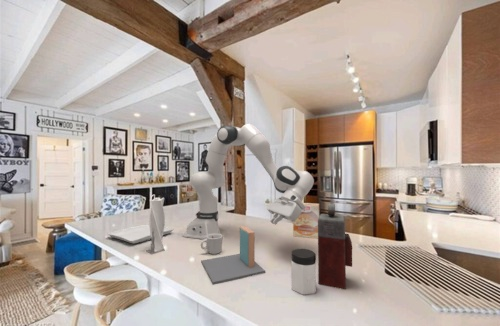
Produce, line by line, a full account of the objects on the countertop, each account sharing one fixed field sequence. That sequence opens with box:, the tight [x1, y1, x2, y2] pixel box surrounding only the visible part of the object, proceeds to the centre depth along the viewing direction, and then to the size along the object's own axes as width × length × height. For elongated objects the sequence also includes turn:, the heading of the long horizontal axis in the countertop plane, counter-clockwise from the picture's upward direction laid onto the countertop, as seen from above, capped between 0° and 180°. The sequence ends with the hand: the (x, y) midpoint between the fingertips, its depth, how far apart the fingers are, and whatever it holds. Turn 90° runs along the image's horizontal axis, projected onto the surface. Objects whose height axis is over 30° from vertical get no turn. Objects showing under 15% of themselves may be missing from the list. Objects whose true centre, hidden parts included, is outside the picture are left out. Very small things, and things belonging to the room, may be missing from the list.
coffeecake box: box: [292, 202, 320, 240], centre depth 132 cm, size 15×7×20 cm, turn 70°
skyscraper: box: [145, 194, 166, 255], centre depth 110 cm, size 8×8×28 cm
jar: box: [290, 248, 317, 296], centre depth 75 cm, size 9×8×12 cm
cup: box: [200, 233, 224, 255], centre depth 106 cm, size 11×8×8 cm
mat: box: [200, 253, 266, 285], centre depth 91 cm, size 20×21×1 cm
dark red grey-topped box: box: [317, 203, 353, 290], centre depth 80 cm, size 9×11×28 cm
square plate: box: [106, 223, 175, 244], centre depth 133 cm, size 27×27×4 cm
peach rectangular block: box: [239, 225, 256, 268], centre depth 94 cm, size 10×3×14 cm, turn 24°
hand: (272, 223), depth 99 cm, fingers closed
